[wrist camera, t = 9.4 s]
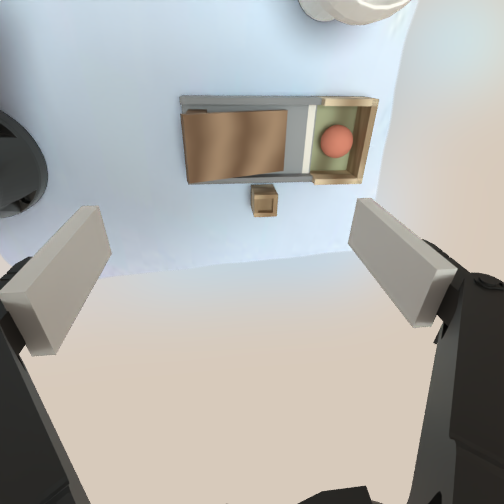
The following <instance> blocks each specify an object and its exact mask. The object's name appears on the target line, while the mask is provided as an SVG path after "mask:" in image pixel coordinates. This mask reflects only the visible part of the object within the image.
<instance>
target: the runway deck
mask: <svg viewBox="0 0 504 504" xmlns="http://www.w3.org/2000/svg"><path fill="white" fill-rule="evenodd" d="M179 98H180V104H181V105H182V114H186V112H187V110H188V109H207V113H213V112H236V111H260V110H283V109H284V110H288V114H287V129H286V143H285V157H284V171H279V172H272V173H265V174H257V175H250V176H242V177H235V178H228V179H220V180H213V181H206V182H198V183H191V184H234V183H278V182H312V178H313V176H312V175H311V174H310V166H311V157H312V149H313V140H314V131H315V123H316V114H317V105H321V104H322V98H320V97H316V96H211V95H181V96H180V97H179ZM188 185H190V184H189V183H188Z"/></svg>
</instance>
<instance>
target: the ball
mask: <svg viewBox="0 0 504 504" xmlns="http://www.w3.org/2000/svg"><path fill="white" fill-rule="evenodd" d="M352 144H353V136H352V133H351V131H350V130H349V129H348V128H347V127H345V126H343V125H333V126H331V127H329V128H328V129H327V130H326V131H325V132H324V133H323V135H322V137H321V149H322V151H323V152H324V153H325V154H326V155H327V156H329V157H331V158H339V157H342V156H344V155H346V154H347V153H348V152H349V150H350V149H351V147H352Z"/></svg>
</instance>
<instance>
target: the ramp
mask: <svg viewBox="0 0 504 504" xmlns="http://www.w3.org/2000/svg"><path fill="white" fill-rule="evenodd" d="M287 114H288V110H284V109H283V110H260V111H236V112H213V113H207V109H188V110H187V112H186V114H180V115H181V125H182V135H183V144H184V154H185V164H186V174H187V182H188V183H189V184H191V183H198V182H206V181H213V180H220V179H228V178H235V177H242V176H250V175H257V174H265V173H272V172H279V171H284V157H285V143H286V129H287Z"/></svg>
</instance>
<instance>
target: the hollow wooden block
mask: <svg viewBox="0 0 504 504" xmlns="http://www.w3.org/2000/svg"><path fill="white" fill-rule="evenodd" d="M277 203H278V194H277V192H276V190H275V188H274V186H273V184H262V185H251V208H252V211H253V215H254V217H271V216H277Z"/></svg>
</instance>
